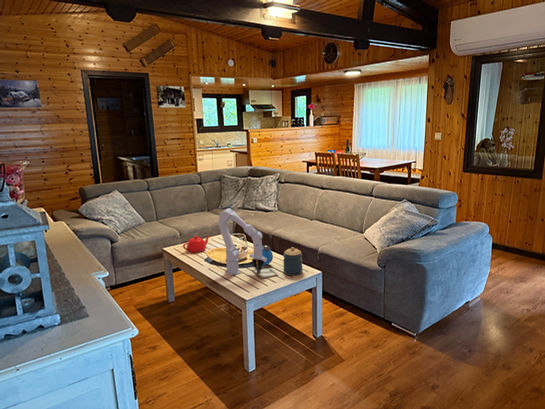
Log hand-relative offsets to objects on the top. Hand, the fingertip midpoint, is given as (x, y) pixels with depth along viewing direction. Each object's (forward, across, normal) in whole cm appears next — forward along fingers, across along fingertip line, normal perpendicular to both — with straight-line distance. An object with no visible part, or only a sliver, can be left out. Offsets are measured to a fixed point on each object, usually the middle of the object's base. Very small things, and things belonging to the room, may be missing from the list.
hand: (258, 269), depth 245 cm
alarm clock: (+4, -9, +14) cm, 18 cm away
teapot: (+4, -73, +3) cm, 73 cm away
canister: (+4, +16, +17) cm, 24 cm away
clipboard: (+3, +2, +3) cm, 5 cm away
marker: (+2, 0, 0) cm, 2 cm away
